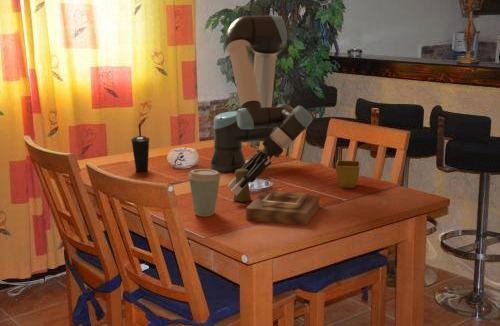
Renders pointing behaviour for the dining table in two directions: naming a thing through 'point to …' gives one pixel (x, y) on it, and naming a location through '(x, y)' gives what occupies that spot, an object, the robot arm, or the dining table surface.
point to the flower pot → (347, 173)
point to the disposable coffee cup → (204, 190)
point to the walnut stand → (283, 207)
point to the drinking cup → (140, 152)
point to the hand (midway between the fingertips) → (231, 190)
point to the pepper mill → (245, 192)
